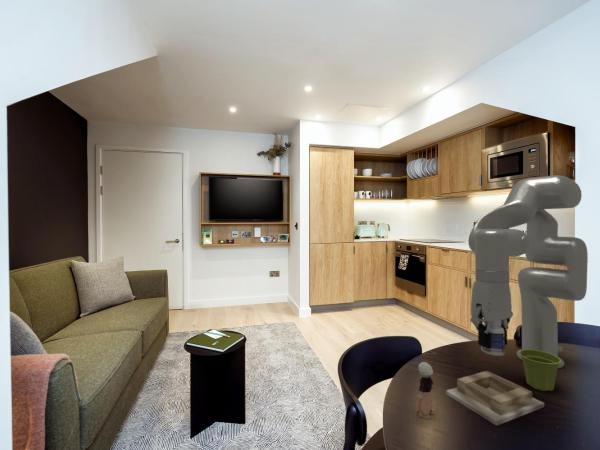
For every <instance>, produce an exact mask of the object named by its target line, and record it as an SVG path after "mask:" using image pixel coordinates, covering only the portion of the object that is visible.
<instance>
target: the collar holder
mask: <svg viewBox="0 0 600 450" xmlns="http://www.w3.org/2000/svg"><path fill="white" fill-rule="evenodd" d="M445 394H446V395H447V396H448V397H450V398H451V399H453V400H454V401H456V402H458V403H460V404H461V405H463V406H465V407H466V408H468V409H469V410H471V411H472V412H474V413H475V414H477V415H478V416H480V417H483V419H485V420H487V421H488V422H490V423H491V424H493V425H495V426H499V425H502V424H504V423H507V422H509V421H512V420H514V419H517V418H520V417H523V416H525V415H527V414H529V413H533V412H535V411H538V410H541V409H542V408H545V402H543V401H541V400H539V399H536V398H535V397H533V391H532V390H529V389H527V388H525V387H523V386H521V385H518V384H517V383H514V382H513V381H510V380H508V379H506V378H504V377H501V376H499V375H497V374H495V373H493V372H491V371H488V370H485V371H480V372H477V373H474V374H470V375H467V376H463V377H460V378H457V379H456V387H453V388H449V389H447V390H445Z"/></svg>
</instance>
